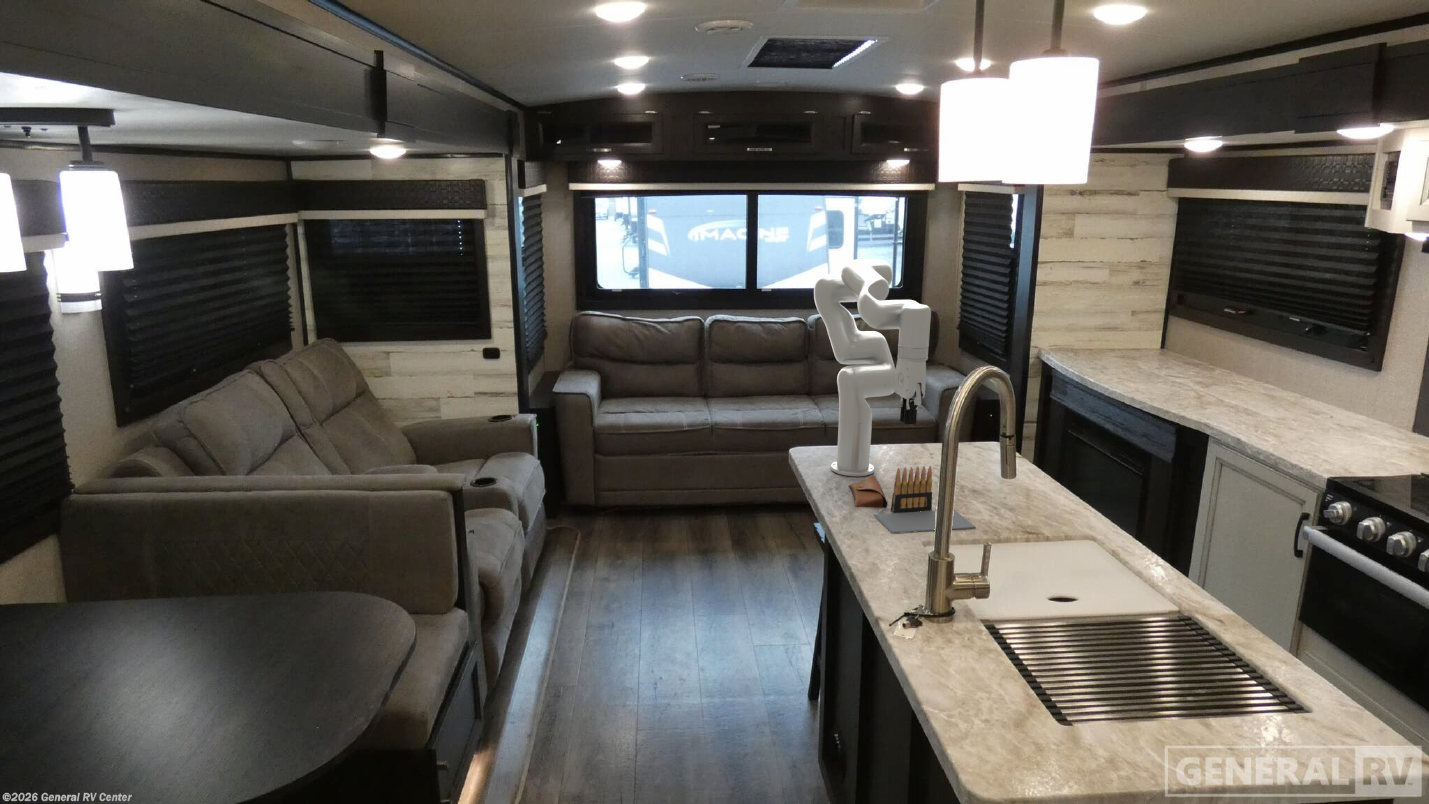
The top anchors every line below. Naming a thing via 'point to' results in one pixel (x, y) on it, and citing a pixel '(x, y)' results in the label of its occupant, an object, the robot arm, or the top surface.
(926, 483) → the ammunition clip
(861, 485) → the sunglasses case
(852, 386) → the robot arm
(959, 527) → the rubber mat
